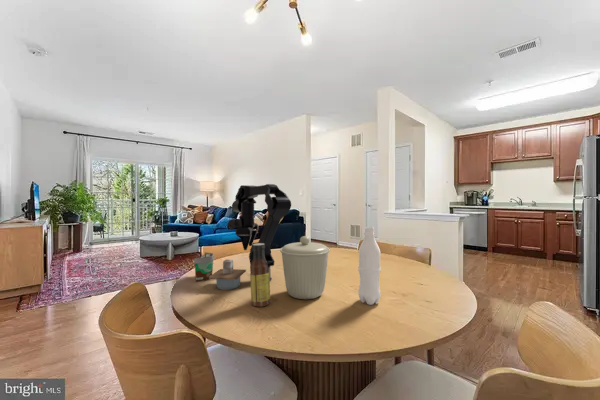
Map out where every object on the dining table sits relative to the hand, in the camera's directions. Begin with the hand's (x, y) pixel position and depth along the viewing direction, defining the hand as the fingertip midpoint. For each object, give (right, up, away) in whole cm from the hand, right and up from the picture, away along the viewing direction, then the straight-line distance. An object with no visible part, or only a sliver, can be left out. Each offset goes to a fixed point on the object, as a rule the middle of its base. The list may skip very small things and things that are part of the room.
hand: (247, 247), depth 122 cm
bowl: (-5, -12, -15) cm, 20 cm away
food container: (-17, -13, -4) cm, 21 cm away
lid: (-5, -8, -15) cm, 18 cm away
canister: (+25, -13, -24) cm, 37 cm away
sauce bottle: (+10, -13, -33) cm, 37 cm away
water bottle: (+47, -13, -31) cm, 58 cm away
